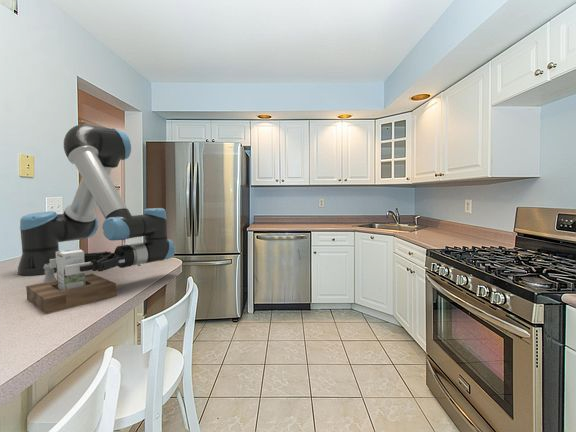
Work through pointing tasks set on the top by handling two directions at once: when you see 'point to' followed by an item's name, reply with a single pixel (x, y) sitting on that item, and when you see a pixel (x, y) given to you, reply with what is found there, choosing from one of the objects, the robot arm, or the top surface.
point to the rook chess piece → (49, 273)
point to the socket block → (69, 293)
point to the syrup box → (64, 260)
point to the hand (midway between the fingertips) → (57, 267)
